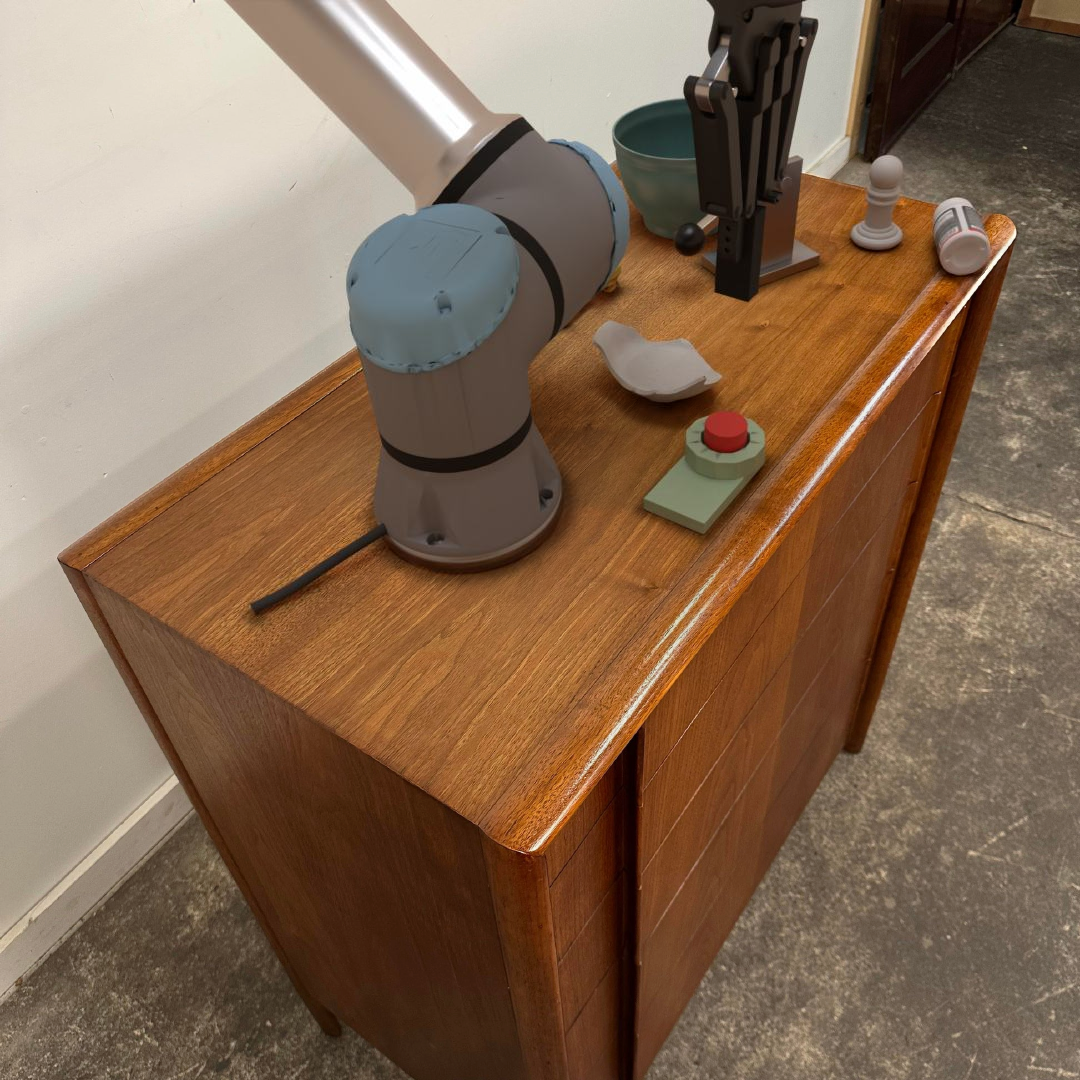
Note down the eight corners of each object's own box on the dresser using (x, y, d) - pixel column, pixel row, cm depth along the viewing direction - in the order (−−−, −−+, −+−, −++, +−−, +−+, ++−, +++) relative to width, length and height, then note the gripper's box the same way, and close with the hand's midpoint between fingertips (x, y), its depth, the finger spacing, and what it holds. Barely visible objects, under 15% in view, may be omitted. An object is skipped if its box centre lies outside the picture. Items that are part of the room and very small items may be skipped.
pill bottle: (988, 273, 99) (975, 233, 105) (993, 230, 96) (979, 191, 102) (938, 278, 100) (928, 238, 106) (941, 236, 97) (930, 197, 103)
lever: (691, 268, 98) (680, 245, 96) (673, 254, 100) (662, 232, 98) (793, 182, 98) (784, 156, 95) (773, 170, 100) (764, 145, 97)
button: (733, 459, 79) (734, 442, 77) (696, 444, 80) (696, 427, 79) (753, 436, 80) (755, 418, 79) (716, 422, 82) (718, 405, 81)
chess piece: (844, 246, 105) (856, 164, 99) (857, 224, 109) (870, 142, 102) (895, 255, 103) (911, 171, 97) (907, 231, 107) (923, 149, 100)
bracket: (739, 293, 101) (748, 182, 92) (701, 265, 105) (705, 156, 97) (818, 264, 104) (833, 154, 95) (777, 238, 108) (788, 130, 100)
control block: (708, 536, 76) (710, 508, 74) (639, 507, 79) (639, 479, 77) (775, 457, 82) (778, 428, 80) (708, 432, 85) (710, 404, 83)
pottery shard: (722, 424, 86) (725, 377, 82) (594, 429, 87) (592, 383, 83) (712, 355, 93) (714, 309, 90) (594, 361, 94) (592, 316, 91)
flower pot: (586, 235, 111) (581, 139, 104) (662, 178, 120) (663, 86, 113) (711, 271, 104) (716, 171, 96) (783, 207, 113) (793, 111, 105)
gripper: (772, -49, 49) (739, 352, 66) (878, -112, 56) (824, 265, 73) (643, -63, 52) (642, 321, 69) (759, -121, 59) (733, 240, 76)
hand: (736, 292), depth 71 cm, fingers closed
